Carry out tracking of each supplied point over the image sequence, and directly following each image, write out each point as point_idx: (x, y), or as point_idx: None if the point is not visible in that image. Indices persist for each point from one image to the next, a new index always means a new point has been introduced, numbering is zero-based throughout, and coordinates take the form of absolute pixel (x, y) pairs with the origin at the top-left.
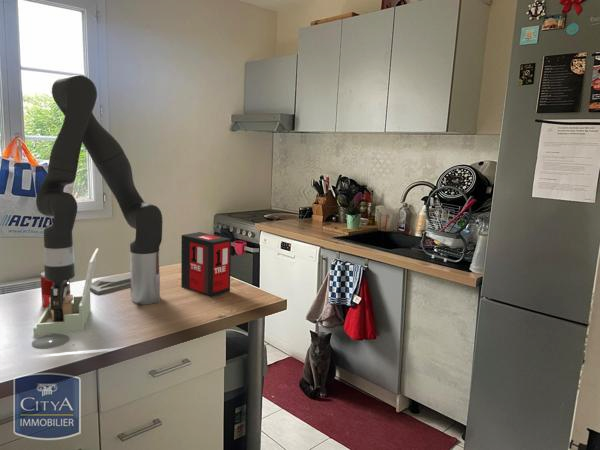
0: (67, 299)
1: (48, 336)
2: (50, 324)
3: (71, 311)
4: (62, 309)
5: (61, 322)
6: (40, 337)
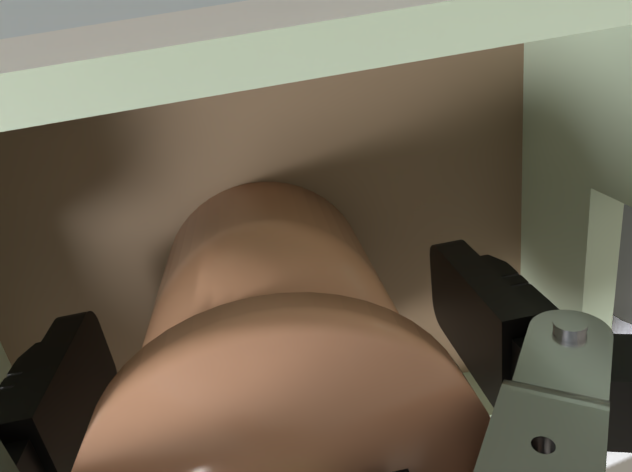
0: (448, 369)
1: (623, 255)
2: (607, 309)
3: (275, 227)
4: (535, 313)
5: (614, 216)
6: (625, 307)
